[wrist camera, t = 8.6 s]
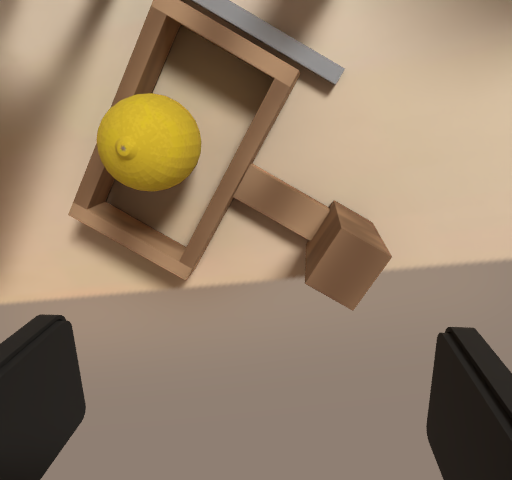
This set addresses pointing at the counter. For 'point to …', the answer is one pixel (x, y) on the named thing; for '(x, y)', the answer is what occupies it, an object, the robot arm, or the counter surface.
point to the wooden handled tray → (235, 175)
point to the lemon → (149, 142)
